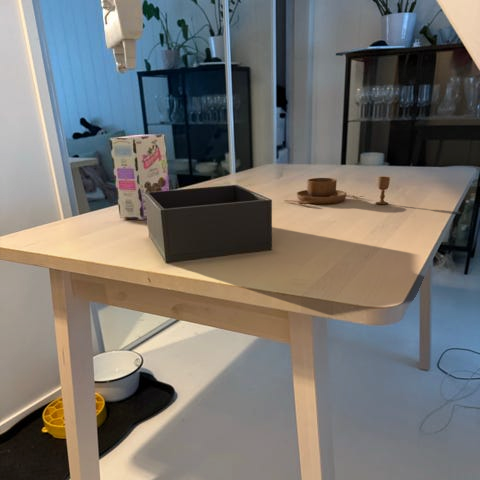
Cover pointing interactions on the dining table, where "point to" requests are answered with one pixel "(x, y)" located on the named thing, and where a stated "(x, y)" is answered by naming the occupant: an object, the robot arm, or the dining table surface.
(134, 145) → the candy box
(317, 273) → the dining table surface
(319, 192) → the place setting
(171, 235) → the dark storage bin
